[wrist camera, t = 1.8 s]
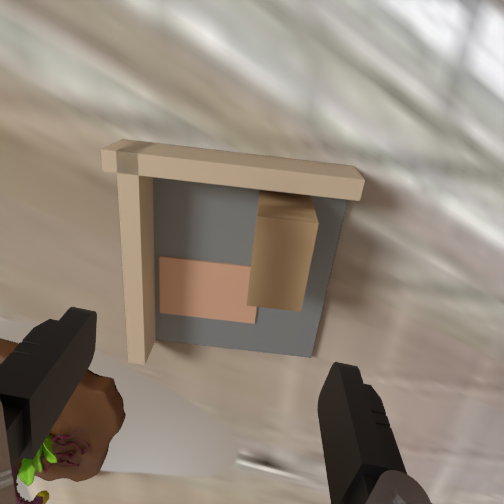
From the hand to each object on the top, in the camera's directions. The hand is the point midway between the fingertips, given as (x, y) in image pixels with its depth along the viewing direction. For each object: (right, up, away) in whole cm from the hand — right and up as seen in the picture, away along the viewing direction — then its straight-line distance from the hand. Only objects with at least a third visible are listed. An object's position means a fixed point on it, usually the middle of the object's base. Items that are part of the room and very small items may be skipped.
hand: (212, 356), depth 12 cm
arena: (-1, +3, +20) cm, 21 cm away
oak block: (+4, +5, +18) cm, 19 cm away
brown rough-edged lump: (-24, -14, +31) cm, 42 cm away
